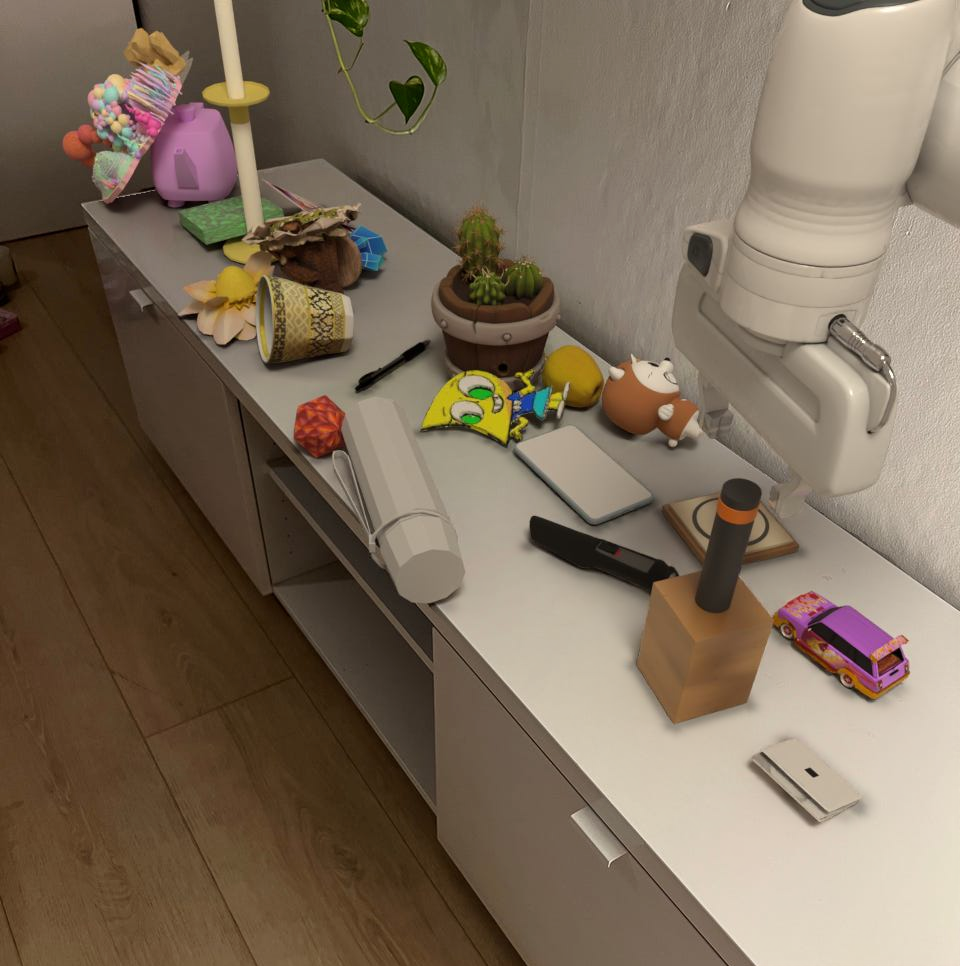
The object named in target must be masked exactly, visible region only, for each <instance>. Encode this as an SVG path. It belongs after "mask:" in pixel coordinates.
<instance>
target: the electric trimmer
mask: <svg viewBox="0 0 960 966" xmlns="http://www.w3.org/2000/svg"><path fill="white" fill-rule="evenodd" d="M529 536H530V539H531V540H532V541H533V542H534V543H536V544H537V545H540V546H541V547H542V548H545V549H546V550H548V551H550V552H551V553H554V554H555V555H557V556H558V557H560V558H563V559H564V560H566V561H568V562H570V563H572V564H574V565H576V566H578V567H579V568H581V569H593V568H596V569H597V570H600V571H603V572H605V573H607V574H609V575H612V576H614V577H617V578H619V579H621V580H623V581H625V582H628V583H630V584H633V585H634V586H638V587H640V588H642V589H645V590H647V591H649V592H650V593H651V592H652V587H653V583H654V582H657V581H661V580H665V579H669V578H673V577H677V576H680V575H679V572H678V571H677V569H676V568H675V566H673V565H669V564H668V563H667V562H666V561H665V560H663V559H660V558H656V557H653V556H650V555H648V554H645V553H642V552H640V551H636V550H633V549H631V548H628V547H625V546H622V545H621V544H618V543H614V542H611V541H610V540H606V539H604V538H599V537H596V536H593V535H591V534H588V533H584V532H583V531H579V530H576V529H574V528H571V527H568V526H565V525H563V524H561V523H558V522H555V521H552V520H549V519H547V518H544V517H541V516H539V515H531V516H530V519H529Z"/></svg>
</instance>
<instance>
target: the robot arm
mask: <svg viewBox="0 0 960 966" xmlns="http://www.w3.org/2000/svg"><path fill="white" fill-rule="evenodd" d="M761 87H762V88H761V91H760V96H759V101H758V104H757V109H756V113H755V119H754V122H753V128H752V133H751V139H750V143H749V160H750V177H749V181H748V185H747V188H746V191H745V194H744V196H743V198H742V199H741V201H740V203H739V204H738V207H737V209H736V212H735V215H734V217H729V218H723V219H716V220H711V221H706V222H700V223H697V224H692V225H688V226H687V227H686V228H685V229H684V232H683V238H682V243H681V253H682V257H683V259H684V260H685V262H684V263H683V264H682V266H681V268H680V272H679V275H678V279H677V284H676V289H675V295H674V301H673V307H672V317H671V330H672V331H671V332H672V337H673V342H674V346H675V348H676V349H677V351H678V352H679V353H681V355H682V356H683V357H685V359H686V360H688V362H689V363H690V364H691V365H692V366H693V367H694V368H695V369H696V370H697V371H698V374H697V379H696V380H697V381H696V382H697V387H698V394H699V395H698V396H699V401H700V407H701V411H700V415H699V421H698V424H699V427H700V428H701V430H702V431H703V434H705V435H706V436H707V437H708V439H711V440H714V439H717V438H723V437H726V436H727V435H729V433H730V432H731V424H732V423H733V420H734V416H735V415H734V414H733V412H732V411H731V410H730V409H729V404H730V406H732V408H733V409H734V410H735V411H736V412H737V413H738V414H739V415H740V416H741V417H742V418H743V419H744V421H746V423H748V425H750V427H752V428H753V429H754V431H755V432H756V433H757V434H758V435H759V436H760V437H761V438H762V439H763V440H764V441H765V442H766V443H767V444H768V445H769V447H771V448H772V449H773V451H774V452H776V453H777V455H778V456H779V457H780V458H781V459H782V460H783V461H784V462H785V463H786V464H787V465H788V466H787V467H788V468H787V470H786V474H787V477H788V478H790V479H791V480H789V481H786V482H785V483H783V482H780V483H776V484H772V486H771V488H770V490H769V491H770V492H769V496H770V497H768V498H767V504H768V505H769V507H770V508H771V509H772V510H773V512H774V513H775V514H776V515H777V516H778V517H779V518H781V519H784V518H788V517H793V516H796V515H798V514H799V513H800V512H801V511H802V509H803V507H804V504H805V501H806V498H807V495H808V494H810V493H812V492H814V494H815V495H817V497H820V498H822V499H833V498H838V497H843V496H849V495H852V494H857V493H859V492H863V491H865V490H867V489H869V488H871V487H873V486H874V485H875V484H876V483H877V482H878V480H879V478H880V476H881V473H882V471H883V467H884V466H885V461H886V457H887V454H888V451H889V447H890V443H891V439H892V435H893V432H894V427H895V422H896V417H897V411H898V403H899V394H900V385H899V382H898V381H897V379H896V375H895V371H894V370H893V368H892V366H891V364H892V357H891V355H890V354H889V353H888V351H887V350H886V349H885V348H883V346H881V345H879V344H877V343H874V342H873V341H872V340H871V339H870V338H868V337H867V335H866V334H865V332H863V331H862V330H861V329H860V328H861V327H863V324H864V323H865V320H866V317H867V315H868V312H869V308H870V306H871V303H872V300H873V296H874V293H875V290H876V286H877V284H878V280H879V277H880V274H881V271H882V268H883V265H884V263H885V260H886V256H887V254H888V250H889V248H890V244H891V240H892V235H893V234H892V233H893V216H894V215H893V214H894V213H895V212H896V211H897V210H898V209H900V208H904V207H908V206H913V205H914V206H915V207H916V208H918V209H919V210H921V211H923V212H925V213H926V214H929V215H930V216H932V217H935V218H937V219H938V220H940V221H942V222H944V223H946V224H948V225H950V226H952V227H953V228H955V229H958V230H960V0H792V1H791V3H790V5H789V7H788V9H787V11H786V13H785V16H784V18H783V21H782V23H781V26H780V29H779V31H778V34H777V37H776V40H775V43H774V46H773V48H772V53H771V55H770V59H769V62H768V66H767V69H766V73H765V76H764V80H763V83H762V86H761Z"/></svg>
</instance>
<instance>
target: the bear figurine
mask: <svg viewBox="0 0 960 966" xmlns="http://www.w3.org/2000/svg"><path fill="white" fill-rule="evenodd" d="M362 204H363V203H362V202H361V201H359V202H358V203H355V204H353V206H351V204H350V205H349V204H344V205H339V206H333V207H332V206H331V207H323V209H318V210H316V211H313V212H305V211H308V210H312V209H316V208H311V209H306V210H301V211H299V212H296V213H295V214H293V215H288V216H284V217H280V218H273V219H267V220H266V221H265V222H264V223H263V224H262V225H261V226H258V227H257V228H256V230H255V232H254V233H252V228H253V227H252V228H251V229H250V231H249V232H248V233H247V234H246V236H245V237H244V238H243V239H242V240H241V241H244V242H246V243H248V244H249V245H253V244H258V245H260V246H259V247H260V250H261V251H266V250H267V251H268V252H269V253H270V254H272V255H273V256H274V257H276V258H277V259H278V267H279V270H280V271H281V272H282V273H283V274H284V275H286V276H287V277H289V278H291V281H293V282H296V283H298V284H301V285H306V286H310V287H314V288H319V289H323V290H328V291H333V292H337V293H341V294H343V295H345V292H344V291H345V290H344V289H343V287H342V286H341V285H340V284H339V283H338V273H339V266H338V258H337V251H336V240H335V238H336V236H347V235H348V234H349V231H348V230H347V229H345V228H343V227H342V226H341V225H340V223H345V224H346V225H348V226H350V223H351V222H354V221H357V220H358V218H359V214H360V215H362V214H361V212H360V211H359V207H360V206H361V205H362ZM317 208H320V207H317ZM297 213H299V214H297Z"/></svg>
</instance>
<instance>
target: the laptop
mask: <svg viewBox="0 0 960 966" xmlns="http://www.w3.org/2000/svg"><path fill="white" fill-rule="evenodd" d="M760 751H761V752H759V753H757V754H754V755H753V756H752V757H751V760H752V761H753V762H754V763H755V764H756V765H757V766H758V767H759V768H760V769H761V770H762V771H763V772H765V773H766V774H767V775H768V776H769V777H770V778H771V779H772V780H773V781H775V783H776V784H777V785H779V786H780V787H781V788H782V790H784V791H785V792H786V793H787V794H788V795H790V797H792V799H794V800H795V801H796V802H797V804H799V805H800V806H801V807H802V808H803V809H805V811H807V812H808V813H809V814H810V815H811V816H812V817H813V818H814V819H815V820H816V821H818V822H819V823H822V822H824V821H826V820H828V819H830V818H832V817H834V816H836V815H838V814H839V813H841V812H843V811H845V810H847V809H848V808H851V807H853V806H854V805H856V804H858V803H859V802H860V800H861V799H863V796H862V795H861V794H860V793H859V792H857V791H856V789H854V788H853V787H852V786H851V785H850V784H849V783H847V782H846V781H845V780H844V779H843V778H842V777H841V776H840V775H838V774H837V773H836V772H835V771H834V770H833V769H832V768H830V767H829V766H828V765H827V764H826V763H825V762H823V760H822V759H820V758H819V757H818V756H817V755H816V754H815V753H814V752H812V750H810V749H809V748H808V747H806V746H805V744H804V743H802V742H801V741H800V740H799V739H798V738H796V737H792V738H789V739H786V740H784V741H780V742H777V743H775V744H774V743H773V744H771V745H768V746H765V747H762V748H760Z"/></svg>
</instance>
